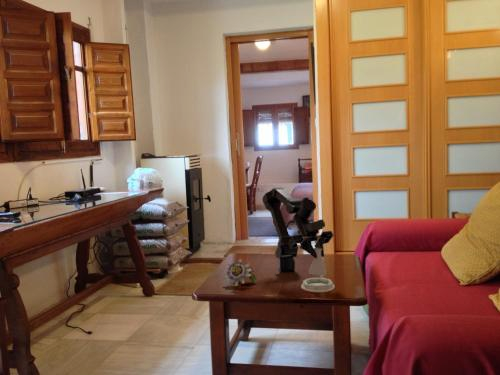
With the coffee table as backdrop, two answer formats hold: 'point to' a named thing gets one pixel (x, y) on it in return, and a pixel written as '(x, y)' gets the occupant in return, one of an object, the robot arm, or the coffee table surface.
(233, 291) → the coffee table surface
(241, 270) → the passion flower
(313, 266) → the flask
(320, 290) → the shaker seat
